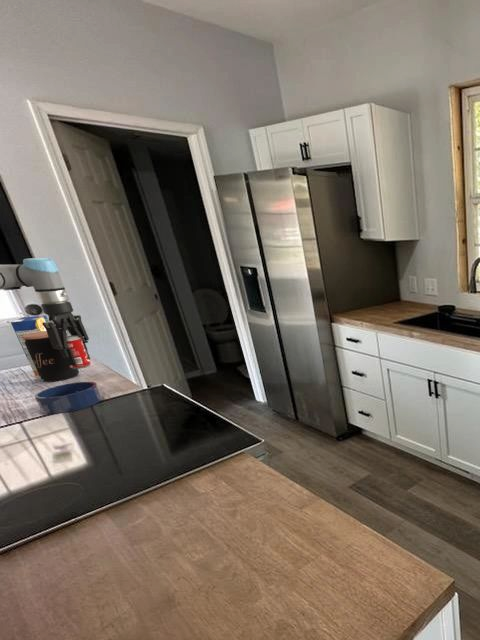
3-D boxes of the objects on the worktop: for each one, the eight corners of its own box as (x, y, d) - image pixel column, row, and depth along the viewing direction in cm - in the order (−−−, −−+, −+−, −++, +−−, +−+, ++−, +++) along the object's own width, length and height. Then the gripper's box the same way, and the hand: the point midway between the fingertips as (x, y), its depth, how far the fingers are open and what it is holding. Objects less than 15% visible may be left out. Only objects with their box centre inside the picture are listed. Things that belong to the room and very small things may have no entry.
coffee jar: (34, 381, 159) (13, 336, 153) (67, 372, 169) (49, 329, 162) (54, 383, 157) (34, 337, 150) (87, 374, 167) (69, 330, 160)
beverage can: (73, 365, 160) (61, 335, 156) (93, 363, 163) (82, 334, 158) (67, 370, 155) (54, 339, 151) (87, 368, 158) (76, 337, 153)
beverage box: (35, 376, 165) (10, 322, 157) (45, 368, 173) (22, 317, 165) (59, 373, 168) (35, 320, 160) (67, 365, 177) (46, 315, 169)
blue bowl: (28, 415, 130) (20, 399, 128) (67, 397, 144) (60, 383, 142) (79, 412, 132) (72, 396, 130) (112, 394, 146) (107, 380, 144)
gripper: (43, 306, 142) (69, 370, 150) (87, 297, 159) (108, 354, 167) (18, 307, 141) (46, 370, 149) (65, 298, 158) (87, 355, 166)
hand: (79, 362), depth 158 cm, fingers closed on beverage can, 6 cm apart
